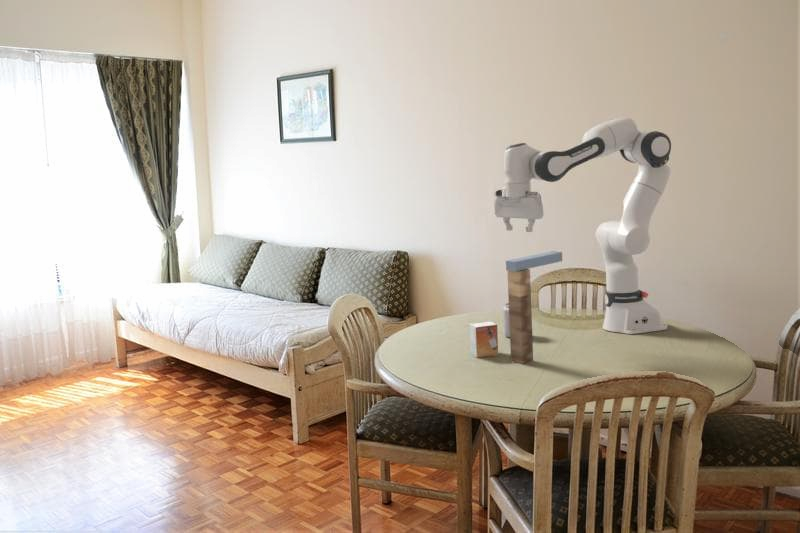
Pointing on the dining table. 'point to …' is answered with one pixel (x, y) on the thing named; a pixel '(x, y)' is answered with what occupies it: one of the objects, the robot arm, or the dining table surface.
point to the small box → (484, 339)
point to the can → (506, 320)
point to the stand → (520, 316)
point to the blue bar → (533, 261)
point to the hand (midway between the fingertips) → (519, 231)
